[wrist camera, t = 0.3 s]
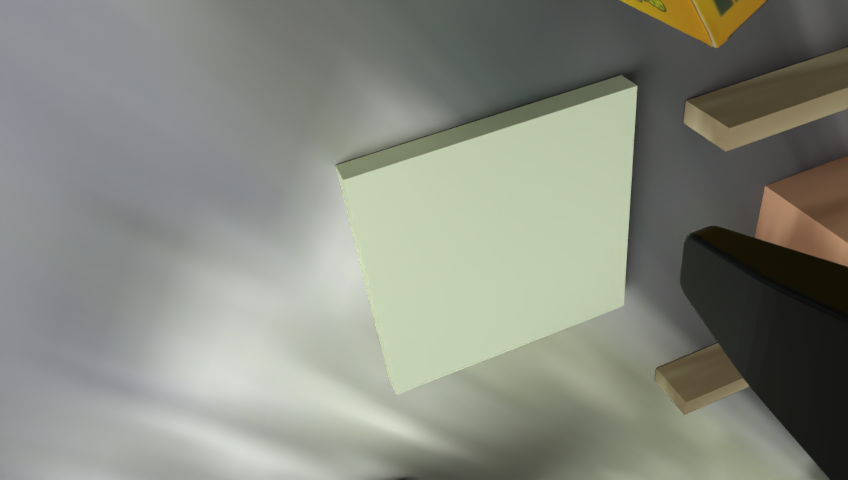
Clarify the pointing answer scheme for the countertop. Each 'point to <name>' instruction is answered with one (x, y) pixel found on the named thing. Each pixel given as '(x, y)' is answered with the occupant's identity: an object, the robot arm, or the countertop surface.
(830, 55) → the open wooden frame
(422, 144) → the pad
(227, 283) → the countertop surface
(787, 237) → the terracotta cube
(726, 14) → the supplement box
